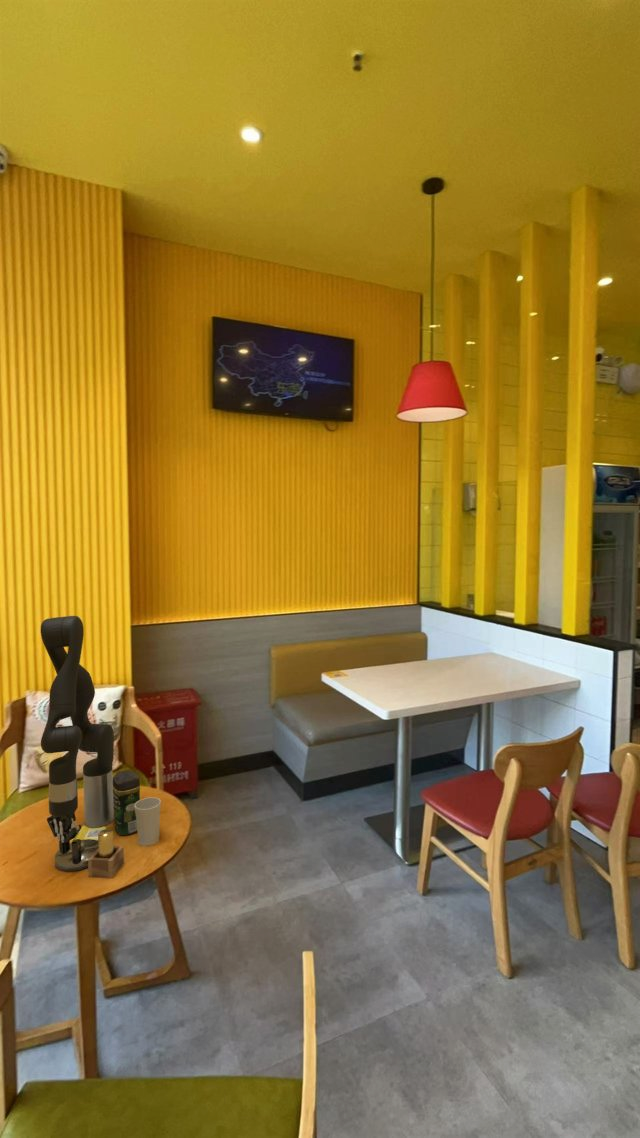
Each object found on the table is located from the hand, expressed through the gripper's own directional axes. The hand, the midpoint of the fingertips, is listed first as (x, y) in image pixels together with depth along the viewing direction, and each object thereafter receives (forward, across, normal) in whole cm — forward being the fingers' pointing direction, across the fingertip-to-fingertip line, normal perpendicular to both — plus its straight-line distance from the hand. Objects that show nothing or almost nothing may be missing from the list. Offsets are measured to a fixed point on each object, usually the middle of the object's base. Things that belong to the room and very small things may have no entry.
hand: (64, 852), depth 154 cm
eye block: (+4, +12, +5) cm, 14 cm away
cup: (+5, +11, +22) cm, 25 cm away
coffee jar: (+5, -1, +24) cm, 24 cm away
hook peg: (+4, +12, +5) cm, 14 cm away
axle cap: (+2, 0, +5) cm, 5 cm away
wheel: (+5, 0, +5) cm, 7 cm away
